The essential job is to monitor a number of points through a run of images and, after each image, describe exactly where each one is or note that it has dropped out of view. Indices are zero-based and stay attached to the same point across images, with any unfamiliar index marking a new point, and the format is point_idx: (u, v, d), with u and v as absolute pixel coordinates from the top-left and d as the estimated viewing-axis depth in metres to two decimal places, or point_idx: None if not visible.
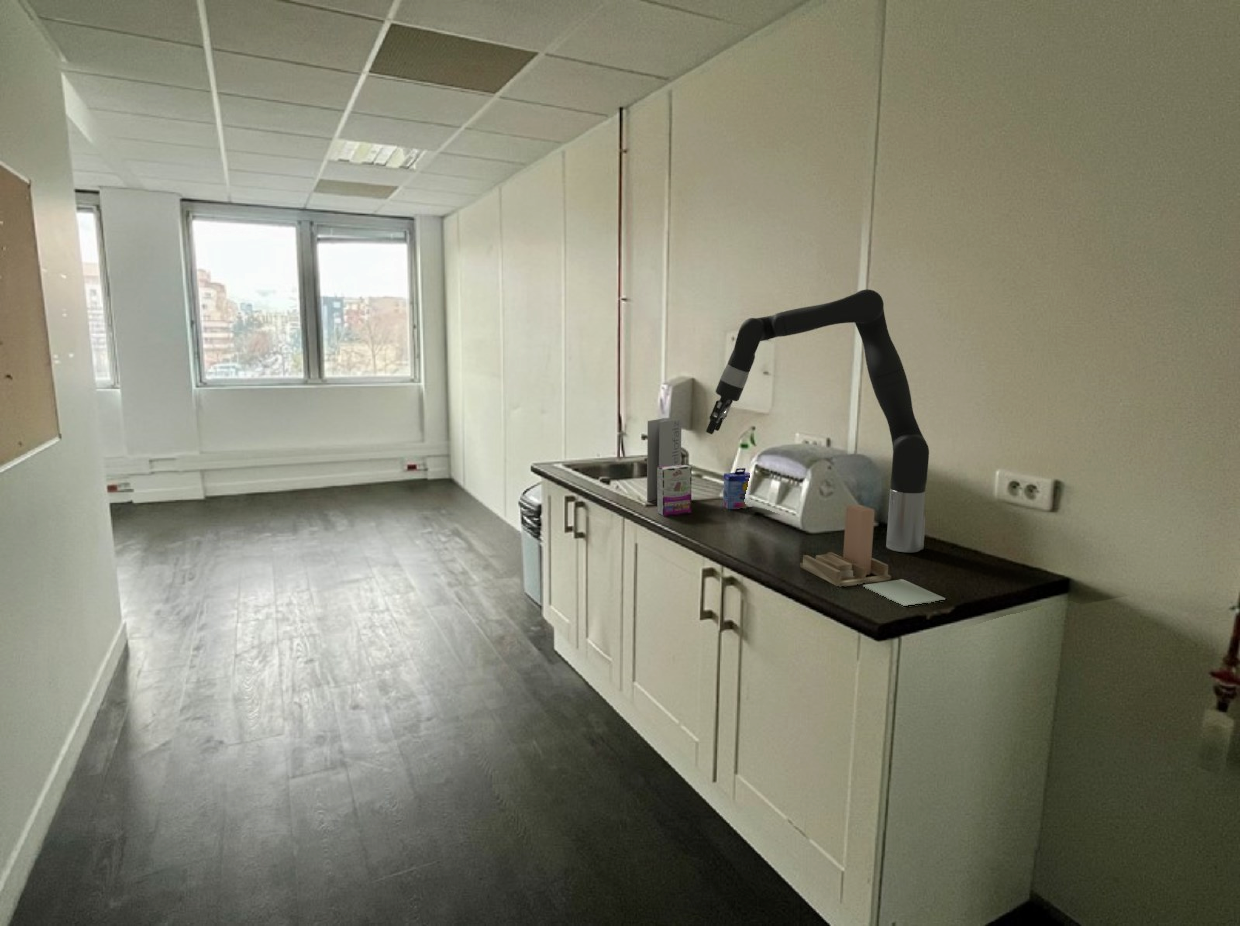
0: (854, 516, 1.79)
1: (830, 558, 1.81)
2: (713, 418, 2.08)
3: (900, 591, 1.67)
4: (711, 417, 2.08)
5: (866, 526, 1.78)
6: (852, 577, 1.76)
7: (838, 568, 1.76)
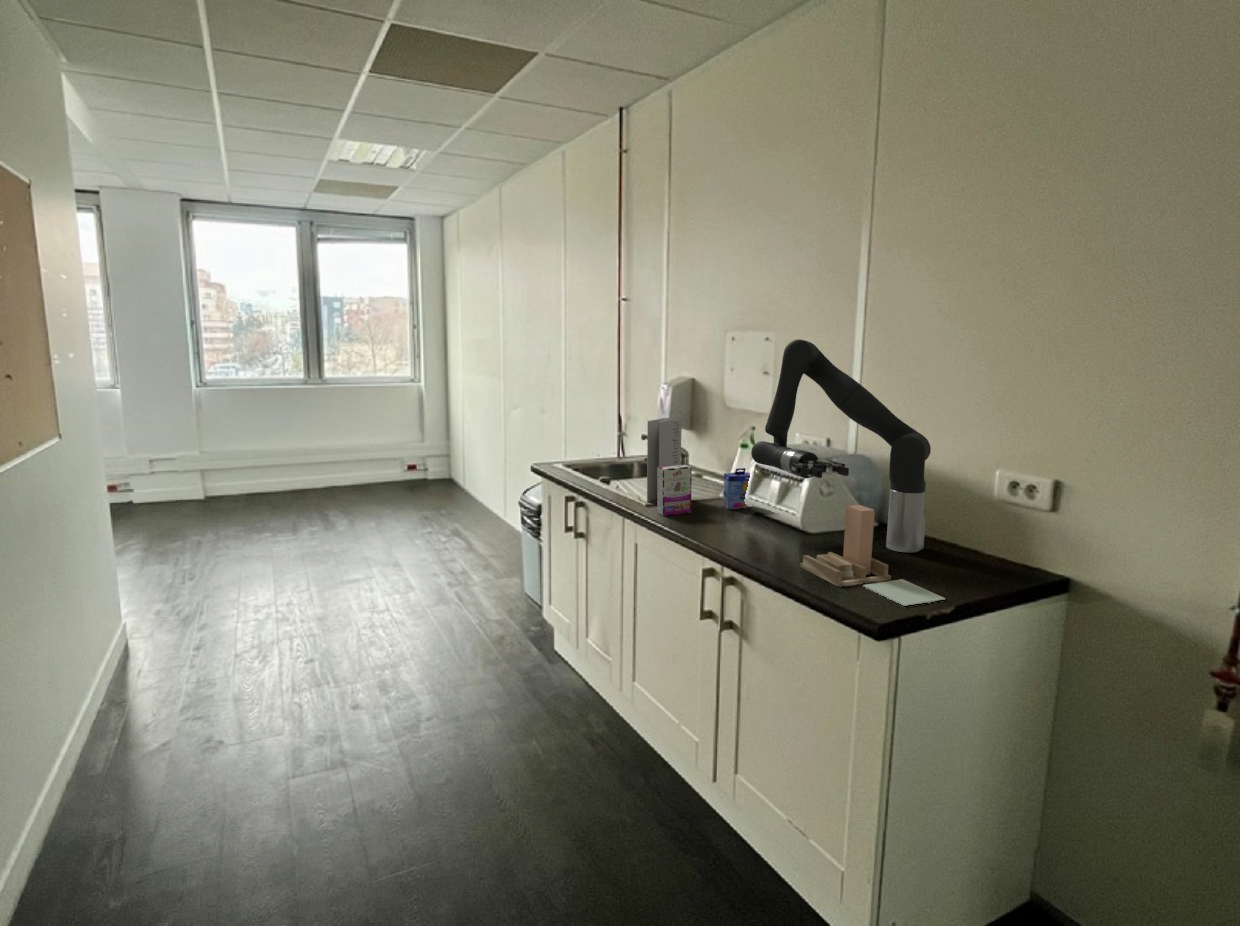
0: (854, 516, 1.79)
1: (831, 558, 1.81)
2: (801, 471, 1.91)
3: (900, 591, 1.67)
4: (800, 473, 1.92)
5: (866, 526, 1.78)
6: (852, 577, 1.76)
7: (838, 568, 1.76)
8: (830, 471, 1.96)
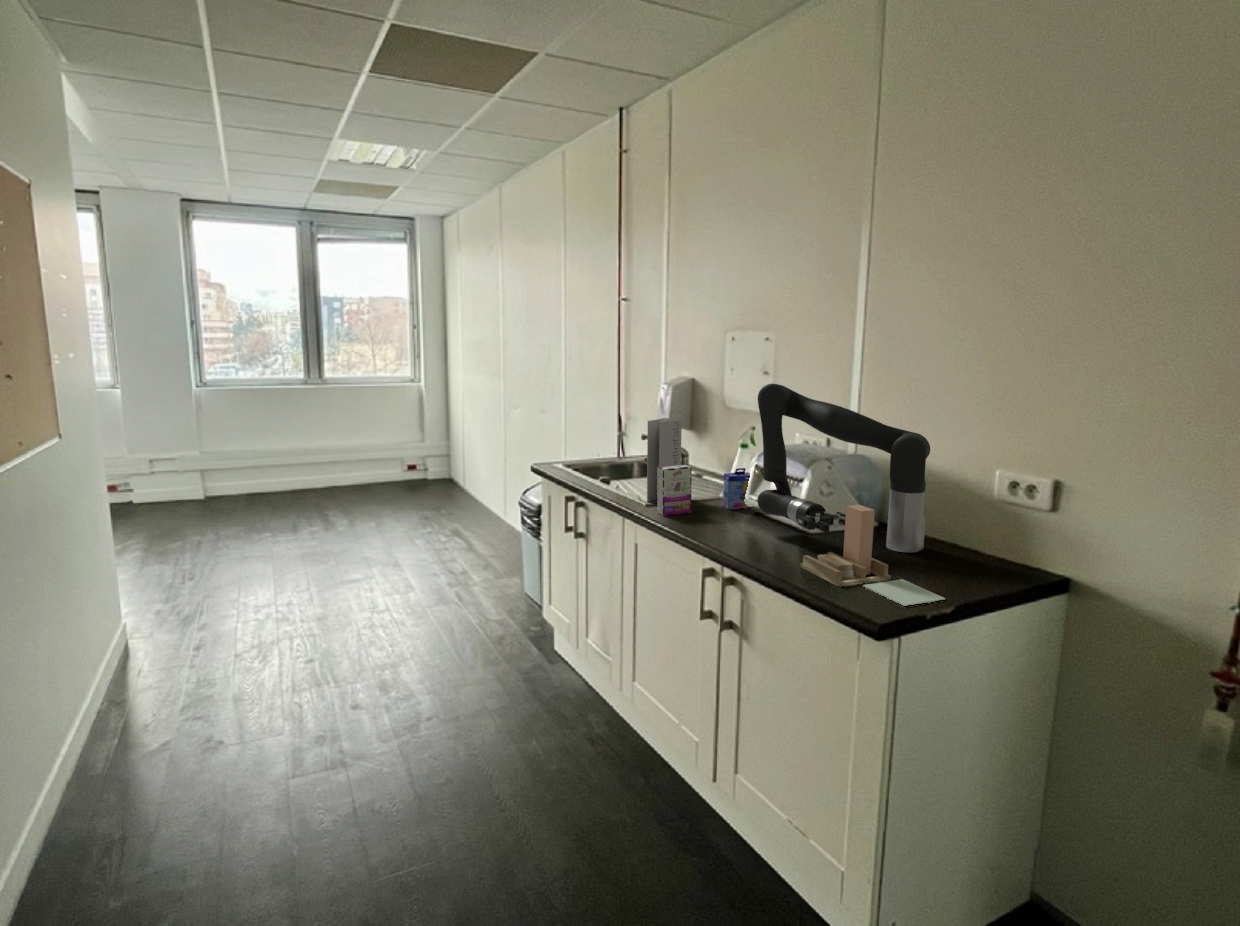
0: (854, 516, 1.79)
1: (832, 558, 1.81)
2: (808, 525, 1.90)
3: (900, 591, 1.67)
4: (807, 527, 1.90)
5: (866, 526, 1.78)
6: (852, 577, 1.76)
7: (838, 568, 1.76)
8: (837, 524, 1.94)
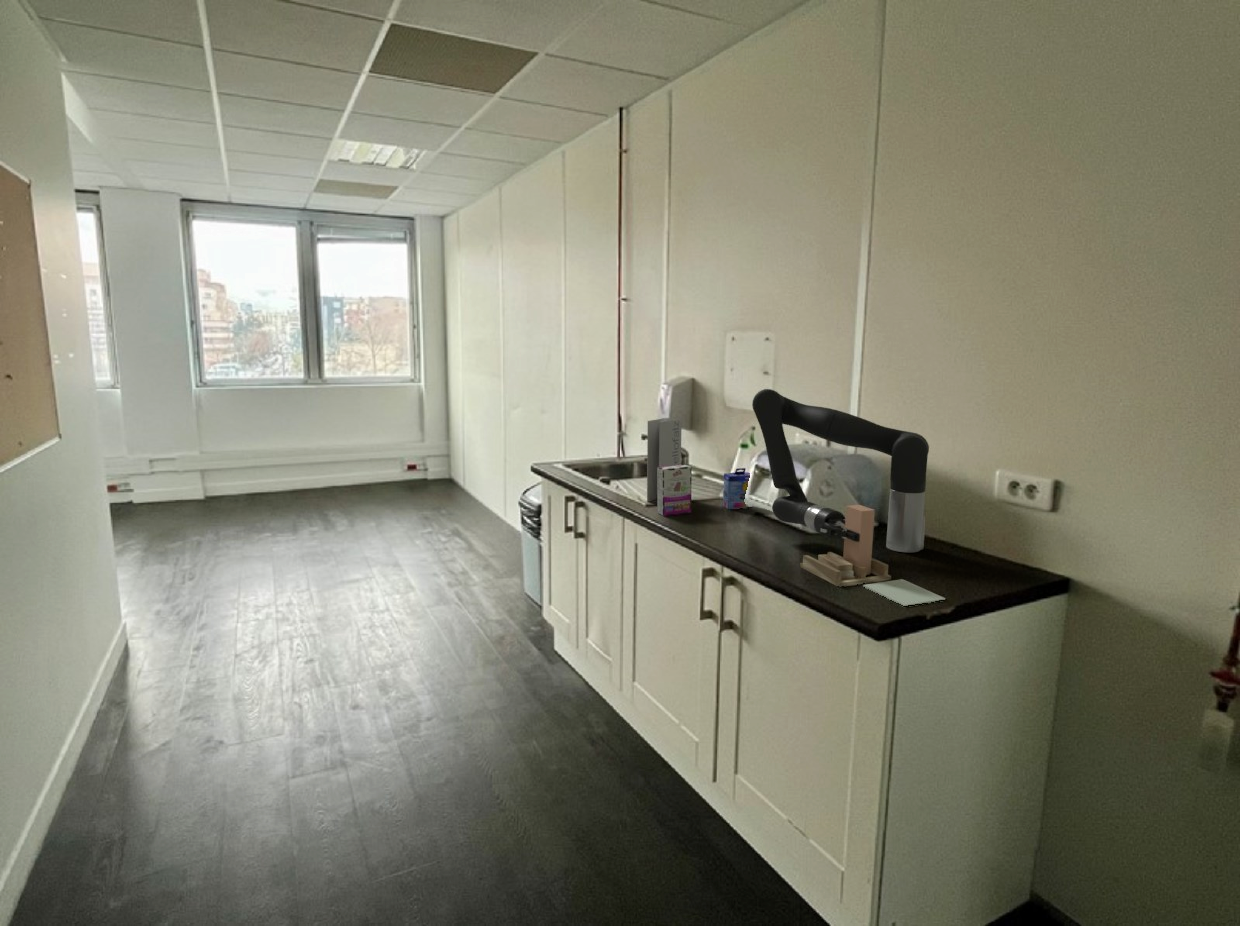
0: (854, 516, 1.79)
1: (832, 558, 1.81)
2: (836, 533, 1.82)
3: (900, 591, 1.67)
4: (836, 536, 1.82)
5: (866, 526, 1.78)
6: (852, 577, 1.76)
7: (838, 568, 1.76)
8: None
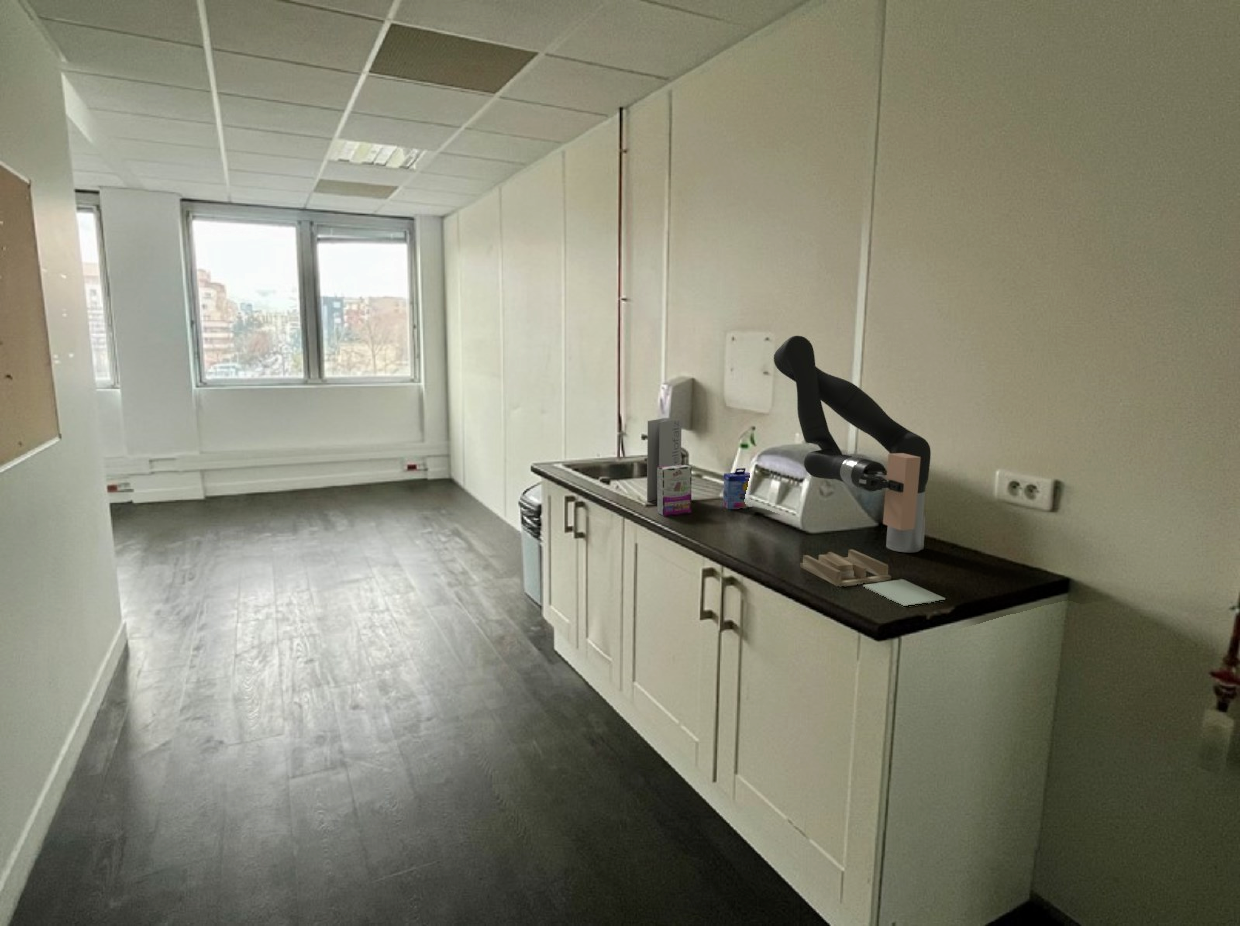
0: (897, 465, 1.63)
1: (833, 558, 1.81)
2: (877, 484, 1.65)
3: (900, 591, 1.67)
4: (877, 487, 1.65)
5: (911, 475, 1.61)
6: (853, 577, 1.76)
7: (838, 568, 1.76)
8: None
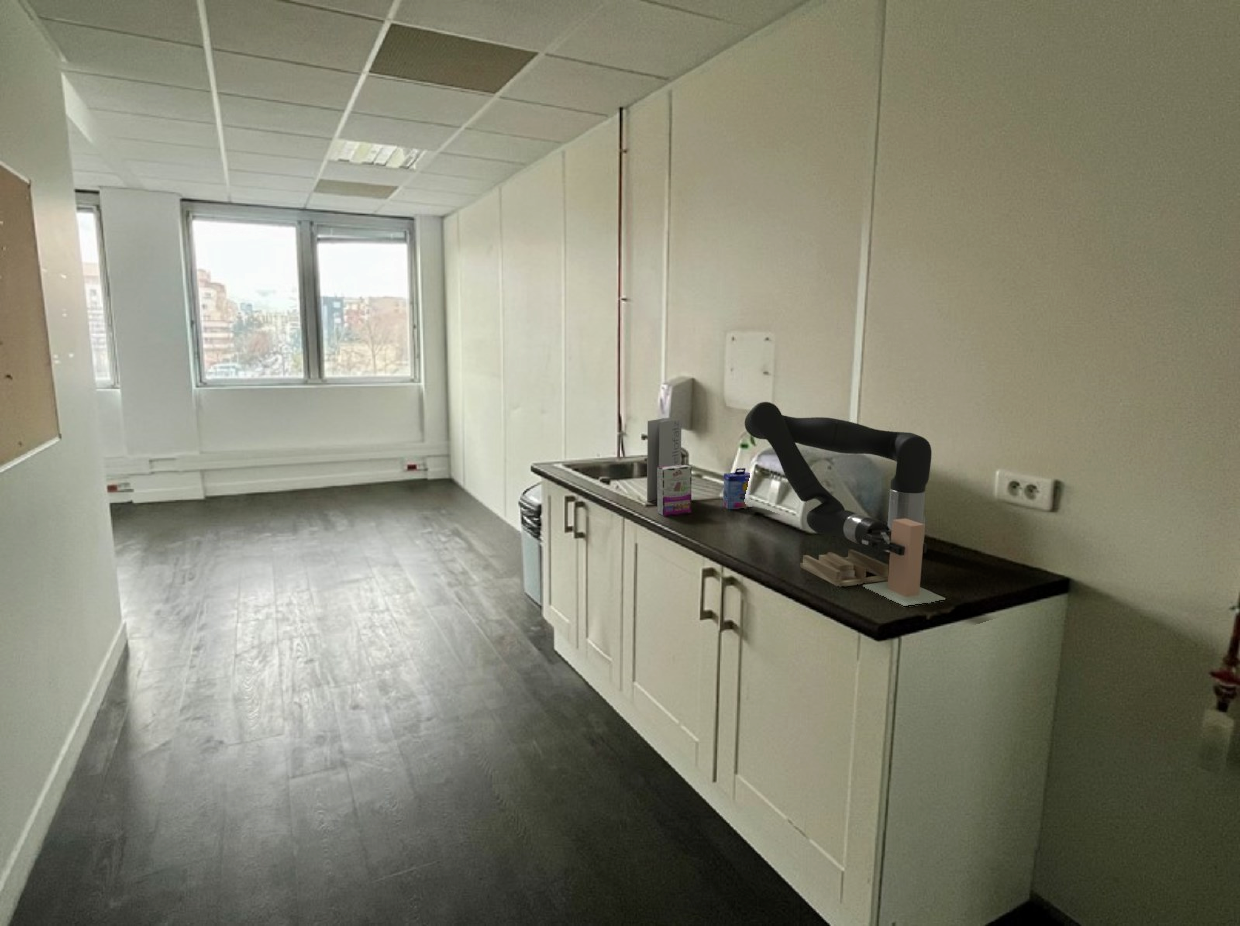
0: (902, 532, 1.64)
1: (833, 558, 1.81)
2: (878, 546, 1.66)
3: None
4: (877, 549, 1.66)
5: (916, 543, 1.62)
6: (853, 577, 1.76)
7: (839, 568, 1.76)
8: None
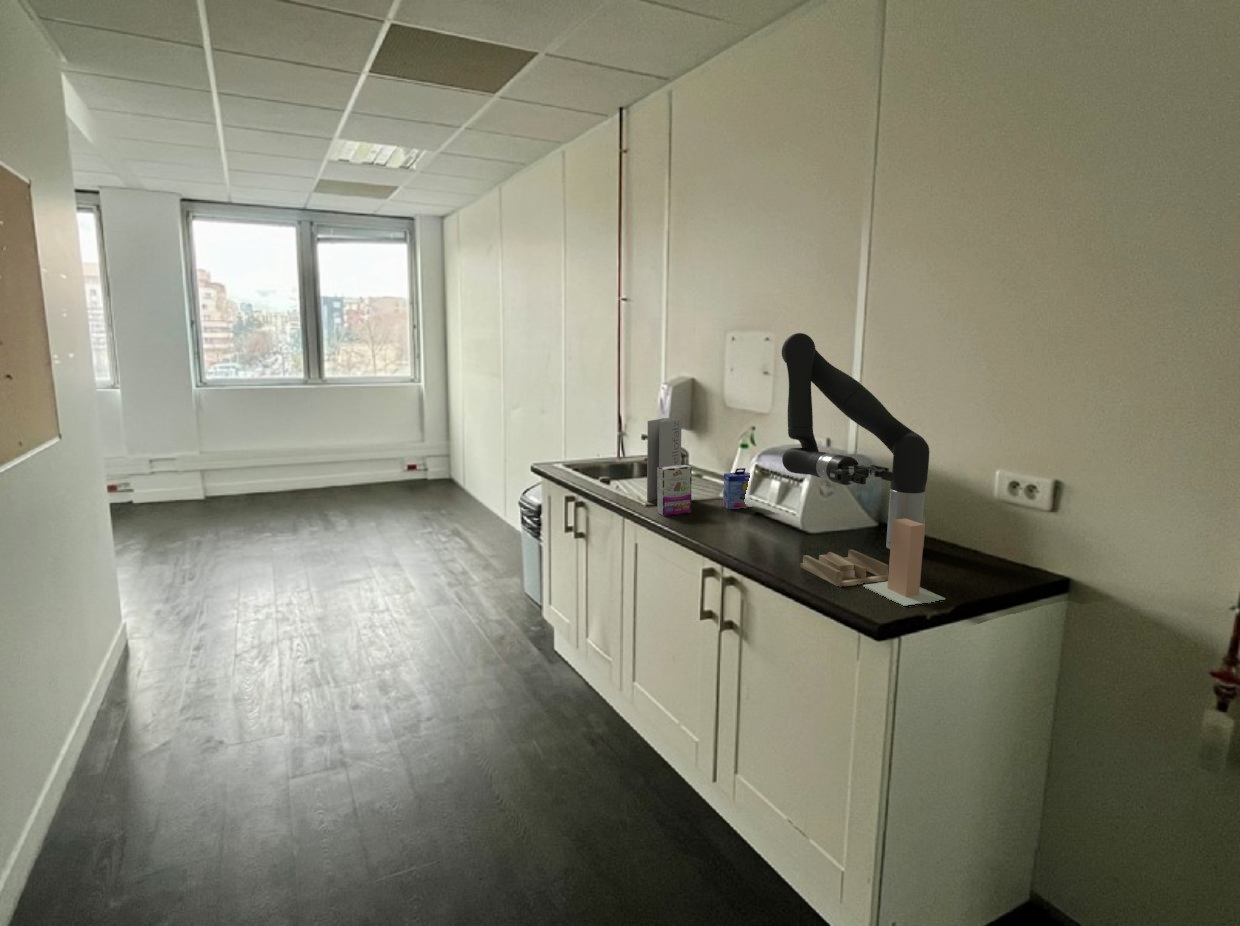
0: (902, 532, 1.64)
1: (833, 558, 1.81)
2: (841, 478, 1.75)
3: None
4: (841, 480, 1.76)
5: (916, 543, 1.62)
6: (854, 577, 1.76)
7: (839, 568, 1.76)
8: (873, 476, 1.79)
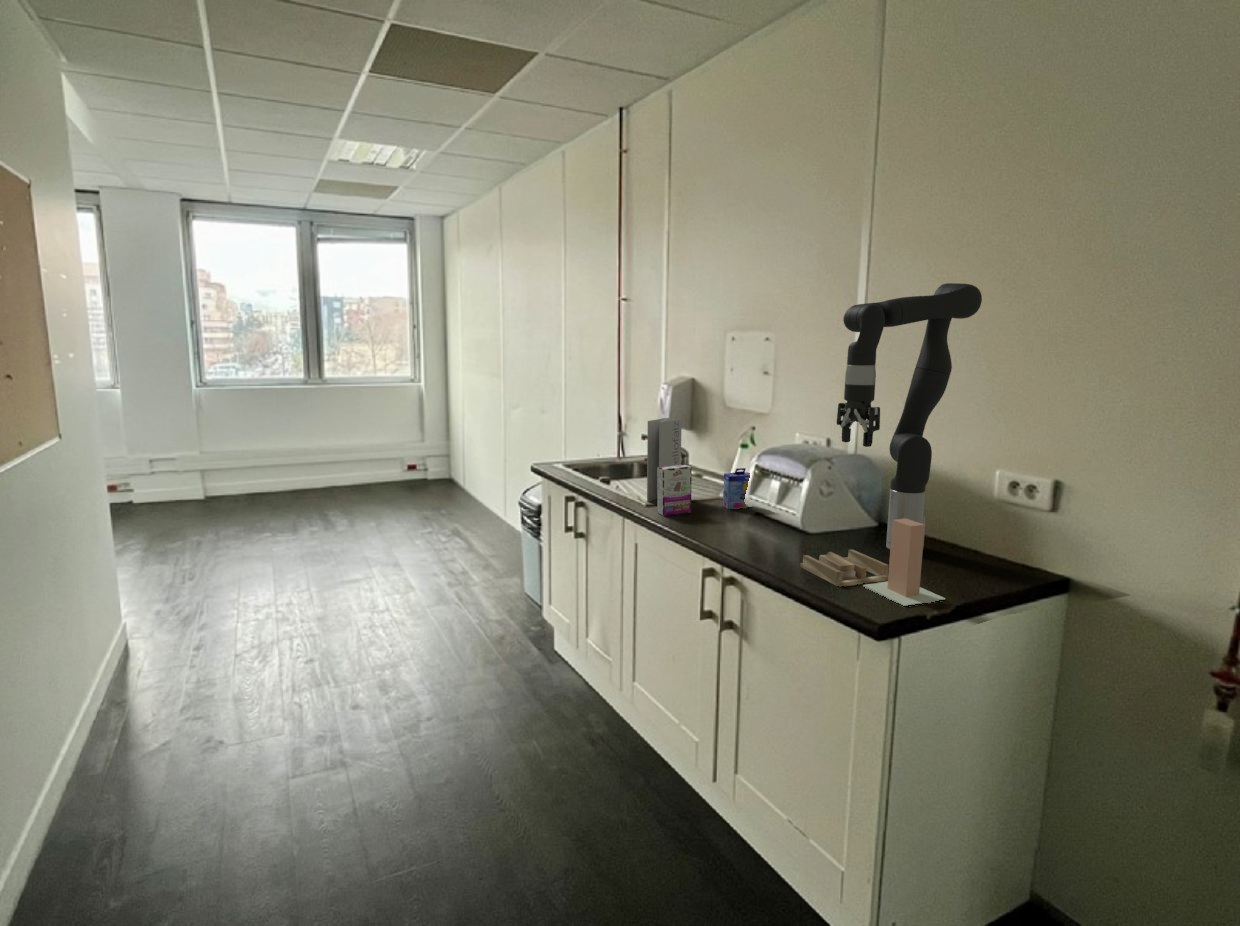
0: (902, 532, 1.64)
1: (834, 559, 1.81)
2: (875, 428, 1.79)
3: None
4: (873, 428, 1.78)
5: (916, 543, 1.62)
6: (854, 578, 1.76)
7: (840, 568, 1.75)
8: (847, 421, 1.88)
